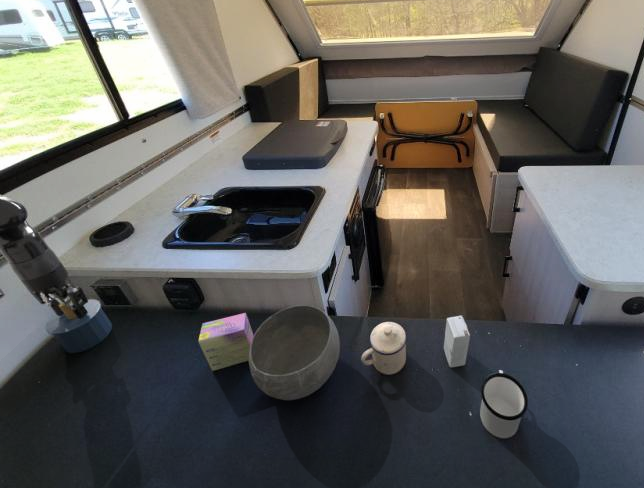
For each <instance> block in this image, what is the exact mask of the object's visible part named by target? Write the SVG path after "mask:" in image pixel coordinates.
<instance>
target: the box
mask: <svg viewBox="0 0 644 488" xmlns="http://www.w3.org/2000/svg"><path fill="white" fill-rule="evenodd" d="M254 335H255V334H254V333H253V330H252V327H251V324H250V321H249V317H248V315H247V312H243V313H239V314H235V315H231V316H226V317H223V318H218V319H215V320H211V321H206V322H203V323H202V324H201V328H200V333H199V337H198V341H197V342H198V344H199V346H200V349H201V351H202V353H203V355H204V358H205V359H206V362H207V363H208V366H209V368H210V369H211V371H212V372H214V371H217V370H221V369H224V368H228V367H231V366H234V365H238V364H241V363H245V362H249V350H250V345H251V342H252V339H253V337H254Z"/></svg>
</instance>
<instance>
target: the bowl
mask: <svg viewBox="0 0 644 488" xmlns="http://www.w3.org/2000/svg"><path fill="white" fill-rule="evenodd" d="M253 335H254V337H253V339H252V342H251V345H250V350H249V361H248V365H249V366H248V367H249V370H250V374H251V377H252V379H253V381H254V383H255V384H256V386H257V387H258V388H259V389H260V391H262V392H263V393H264V394H266V395H267V396H268V397H271V398H274V399H277V400H283V401H294V400H300V399H303V398H305V397H308V396H310V395H311V394H314V393H315V392H316V391H318V390H319V389H320V388H321V387H322V386H324V384H325V383H326V382H327V381H328V380H329V379H330V377H331V376H332V375H333V372H334V370H335V368H336V366H337V364H338V361H339V357H340V351H341V350H340V349H341V347H340V346H341V342H340V335H339V331H338V328H337V326H336V324H335V322H334V321H333V320H332V318H331V317H330V316H329V315H328V314H327V313H326V312H325V311H323V310H322V309H320V308H318V307H316V306H313V305H302V304H301V305H294V306H290V307H286V308H284V309H281V310H278V311H277V312H276V313H274V314H272V315H271V316H269V317H268V318H266V319H265V320H264V321H263V322H262V323H261V324H260V326H259V327H258V328H257V329H256V331H255V333H254V334H253Z"/></svg>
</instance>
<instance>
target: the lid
mask: <svg viewBox="0 0 644 488" xmlns="http://www.w3.org/2000/svg"><path fill="white" fill-rule="evenodd" d="M67 299H68V298H65V299H64V300H65V301H66V300H67ZM87 300H88V302H87V303H86V304H84V305H83V306H84V307H85V309H86V310H87V311H88V314H87V315H86V316H84V317H83V318H82V319H78V318H77V317H76V315H75V314H74V312H73V311H72V309H71V308H69V307H68V306H67V305H62V304H61V303H59V307H60V308H61V309H62V311H63V312H64V314H63V315H62V316H57V314H56V313H55V314H53V316H51V317H50V318H49V320H48V321H47V323H46V325H45V331H46V332H47V334H49V335H51V336H54V335H62V334H66V333H69V332H72V331H75V330H77V329H79V328H81V327H83V326H84V325H86V324H87V323H89V322H90V321H91V320H93V319H94V318H95V317H96V316H97V315H98V313H99V312H100V310H101V309H102V303H101V302H100V300H97V299H95V298H94V299H93V298H89V299H87ZM70 303H72V301H71V302H70ZM72 304H73V303H72Z"/></svg>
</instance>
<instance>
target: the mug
mask: <svg viewBox="0 0 644 488" xmlns="http://www.w3.org/2000/svg"><path fill="white" fill-rule="evenodd" d="M480 396H481V402H480V407H479V416H480V420H481V423H482V426H483V427H484V428H485V429H486V431H487V432H489V434H491V435H492V436H494V437H496V438H499V439H509V438H512V437H513V436H514V435H516V433H517V432H518V430H519V428H520V427H519V425H520V423H521V419H522V417H524V415H525V414H526V412H527V409H528V405H529V399H528V394H527V391H526V389H525V388H524V386H523V385H522V383H520V381H519V380H517V379H516V378H515V377H513V376H512V375H510V374H508V373H504V371H503V370H502V369H499V370H498V372H493V373H491V374H489V375H488V376H486V377H485V378H484V379H483V381H482V384H481V387H480Z"/></svg>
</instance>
